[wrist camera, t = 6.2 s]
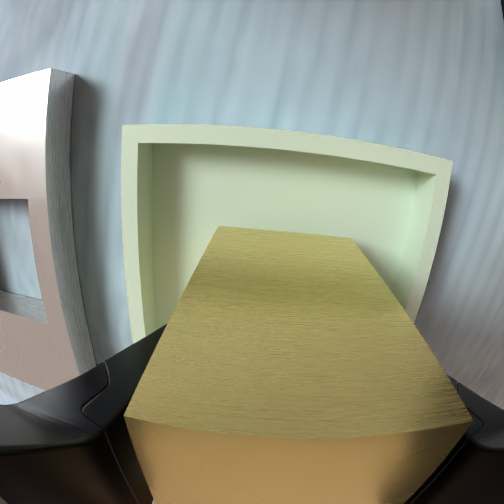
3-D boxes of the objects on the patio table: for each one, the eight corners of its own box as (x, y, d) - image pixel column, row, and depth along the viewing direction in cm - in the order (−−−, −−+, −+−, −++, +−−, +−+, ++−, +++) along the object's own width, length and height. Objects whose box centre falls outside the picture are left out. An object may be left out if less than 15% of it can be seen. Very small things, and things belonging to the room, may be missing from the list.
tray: (427, 156, 11) (452, 161, 9) (370, 379, 15) (379, 406, 13) (144, 126, 11) (122, 125, 9) (153, 362, 15) (141, 389, 13)
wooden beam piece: (351, 237, 11) (473, 420, 3) (327, 345, 12) (367, 535, 5) (218, 225, 11) (123, 415, 3) (214, 337, 12) (168, 531, 5)
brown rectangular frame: (74, 73, 10) (50, 68, 8) (101, 383, 16) (89, 404, 14) (-31, 102, 10) (-53, 103, 9) (6, 353, 16) (-8, 367, 14)
